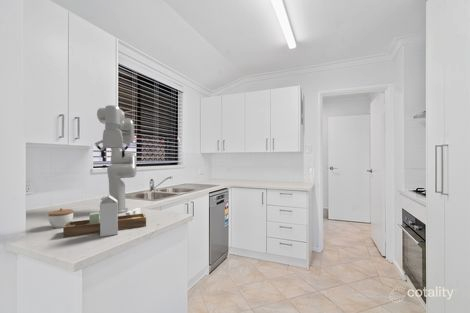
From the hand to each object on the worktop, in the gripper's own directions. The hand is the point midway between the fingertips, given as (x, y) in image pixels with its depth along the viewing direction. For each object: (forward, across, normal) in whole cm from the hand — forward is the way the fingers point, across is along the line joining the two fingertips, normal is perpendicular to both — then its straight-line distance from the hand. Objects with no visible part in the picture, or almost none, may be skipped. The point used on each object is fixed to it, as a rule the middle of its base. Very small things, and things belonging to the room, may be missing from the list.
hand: (113, 158), depth 128 cm
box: (+36, +2, +13) cm, 38 cm away
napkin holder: (+36, -10, -2) cm, 38 cm away
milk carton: (+36, +2, +22) cm, 43 cm away
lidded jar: (+36, +25, -4) cm, 44 cm away
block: (+33, +8, +11) cm, 36 cm away
